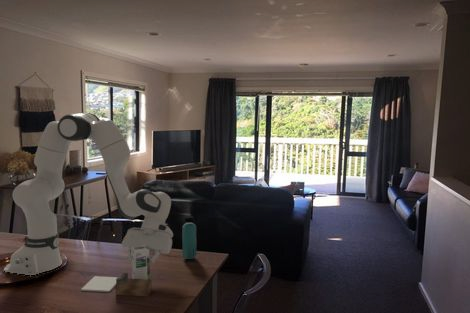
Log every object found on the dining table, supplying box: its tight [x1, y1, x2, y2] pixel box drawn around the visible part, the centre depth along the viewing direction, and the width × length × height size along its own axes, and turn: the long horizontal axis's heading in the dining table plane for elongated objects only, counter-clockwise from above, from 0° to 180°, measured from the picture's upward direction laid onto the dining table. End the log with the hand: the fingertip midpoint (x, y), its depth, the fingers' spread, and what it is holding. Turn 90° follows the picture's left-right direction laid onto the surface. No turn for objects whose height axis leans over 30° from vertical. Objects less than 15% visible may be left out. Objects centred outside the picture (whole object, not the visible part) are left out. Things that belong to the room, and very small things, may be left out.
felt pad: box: [80, 275, 118, 293], centre depth 142 cm, size 11×11×1 cm
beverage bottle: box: [181, 215, 198, 260], centre depth 166 cm, size 6×7×20 cm
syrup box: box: [131, 245, 151, 280], centre depth 143 cm, size 6×6×14 cm
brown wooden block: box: [115, 272, 153, 297], centre depth 136 cm, size 12×5×6 cm, turn 85°
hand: (140, 261), depth 143 cm, fingers open, 8 cm apart
